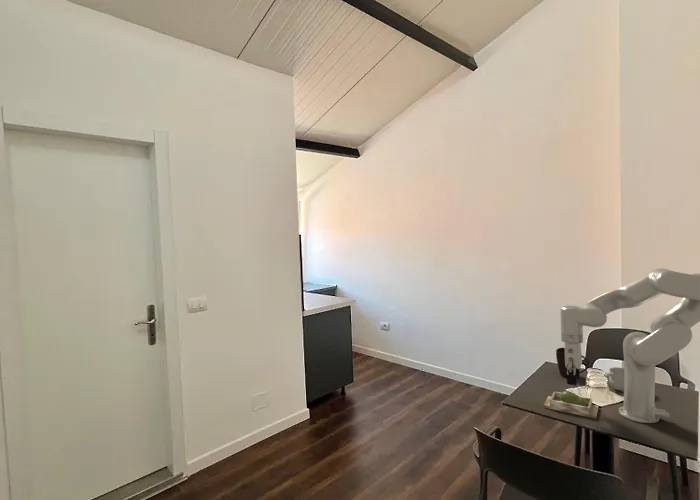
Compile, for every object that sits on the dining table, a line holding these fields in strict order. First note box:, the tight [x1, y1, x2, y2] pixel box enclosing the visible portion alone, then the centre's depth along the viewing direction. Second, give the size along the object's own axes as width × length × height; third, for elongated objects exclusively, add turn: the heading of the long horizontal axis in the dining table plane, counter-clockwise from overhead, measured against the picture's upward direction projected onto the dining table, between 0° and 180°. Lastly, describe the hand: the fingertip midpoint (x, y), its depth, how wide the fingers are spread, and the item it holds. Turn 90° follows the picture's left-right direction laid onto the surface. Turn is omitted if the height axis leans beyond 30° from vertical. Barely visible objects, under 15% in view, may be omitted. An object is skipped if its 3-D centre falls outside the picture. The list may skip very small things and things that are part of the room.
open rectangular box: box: [543, 391, 599, 419], centre depth 164 cm, size 18×10×4 cm, turn 55°
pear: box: [560, 390, 588, 407], centre depth 163 cm, size 6×5×10 cm
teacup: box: [604, 366, 624, 393], centre depth 181 cm, size 14×11×8 cm
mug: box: [555, 347, 590, 378], centre depth 197 cm, size 10×14×12 cm
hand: (573, 380), depth 163 cm, fingers open, 9 cm apart
